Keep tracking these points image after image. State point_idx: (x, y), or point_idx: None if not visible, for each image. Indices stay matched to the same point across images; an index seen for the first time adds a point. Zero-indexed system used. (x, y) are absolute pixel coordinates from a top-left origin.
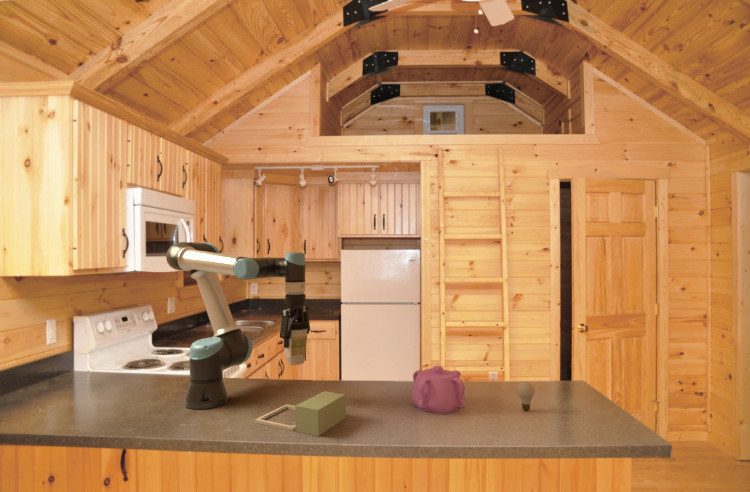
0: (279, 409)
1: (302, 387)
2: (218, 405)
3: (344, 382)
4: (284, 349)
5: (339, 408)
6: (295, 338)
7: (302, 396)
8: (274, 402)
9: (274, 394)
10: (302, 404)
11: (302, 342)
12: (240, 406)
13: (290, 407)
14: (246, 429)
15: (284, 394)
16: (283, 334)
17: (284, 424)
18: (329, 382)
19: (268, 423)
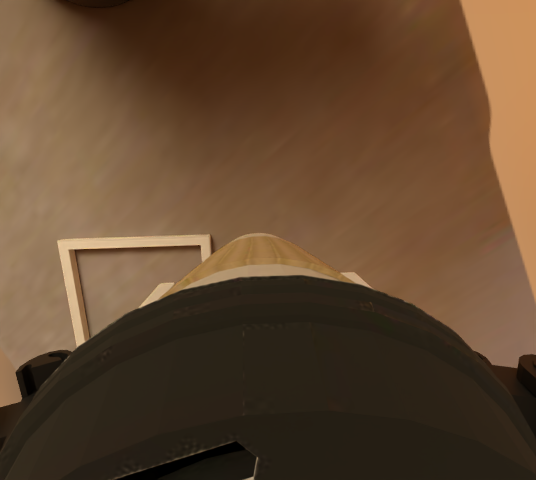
0: (164, 245)
1: (398, 152)
2: (83, 4)
3: (497, 251)
4: (142, 305)
5: None
6: (159, 469)
7: (315, 215)
8: (225, 169)
9: (291, 109)
10: None
11: (237, 448)
12: (134, 87)
13: (202, 257)
14: (15, 252)
15: (306, 144)
16: (15, 421)
17: (83, 334)
18: (483, 205)
19: (68, 288)
